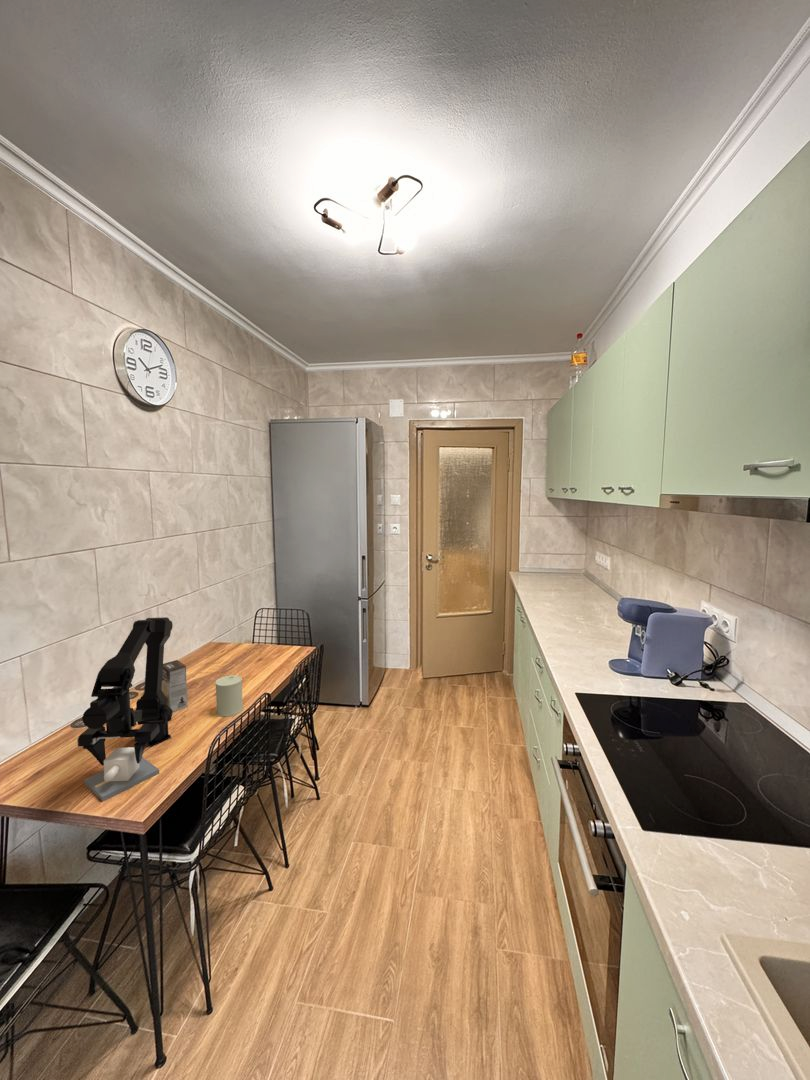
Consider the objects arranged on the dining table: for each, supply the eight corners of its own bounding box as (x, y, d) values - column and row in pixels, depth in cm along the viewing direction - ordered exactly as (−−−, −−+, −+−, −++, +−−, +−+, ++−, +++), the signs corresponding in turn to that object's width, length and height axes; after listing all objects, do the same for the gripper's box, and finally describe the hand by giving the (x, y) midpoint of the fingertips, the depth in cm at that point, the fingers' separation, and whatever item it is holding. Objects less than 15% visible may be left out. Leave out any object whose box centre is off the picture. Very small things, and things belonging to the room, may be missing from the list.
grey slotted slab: (139, 758, 129) (138, 743, 129) (159, 773, 122) (158, 757, 122) (84, 783, 118) (83, 767, 117) (102, 801, 111) (101, 784, 110)
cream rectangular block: (139, 767, 123) (138, 747, 122) (120, 789, 113) (119, 767, 113) (117, 768, 122) (116, 747, 122) (96, 790, 113) (95, 768, 112)
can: (246, 704, 163) (245, 673, 162) (238, 716, 154) (237, 684, 153) (222, 704, 163) (220, 674, 162) (212, 716, 154) (210, 684, 153)
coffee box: (161, 705, 163) (159, 664, 161) (179, 699, 167) (177, 659, 166) (170, 713, 157) (168, 670, 155) (188, 706, 161) (186, 665, 160)
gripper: (166, 695, 127) (169, 745, 128) (99, 697, 125) (103, 748, 126) (148, 713, 116) (151, 768, 117) (74, 717, 114) (78, 772, 115)
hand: (121, 763), depth 119 cm, fingers open, 9 cm apart
